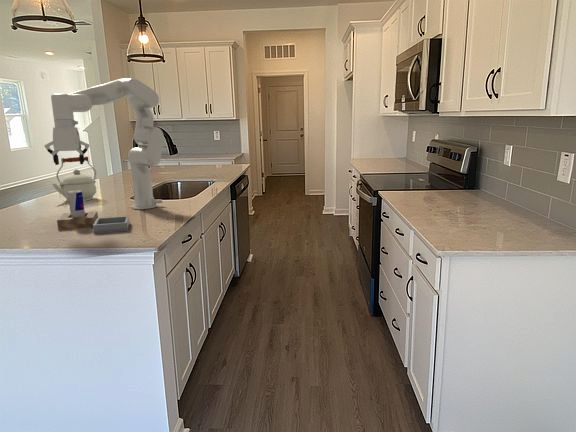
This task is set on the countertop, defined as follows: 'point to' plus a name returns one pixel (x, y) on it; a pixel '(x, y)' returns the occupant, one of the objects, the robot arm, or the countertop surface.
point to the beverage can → (76, 203)
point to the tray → (111, 224)
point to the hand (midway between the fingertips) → (69, 164)
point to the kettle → (77, 181)
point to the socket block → (77, 220)
